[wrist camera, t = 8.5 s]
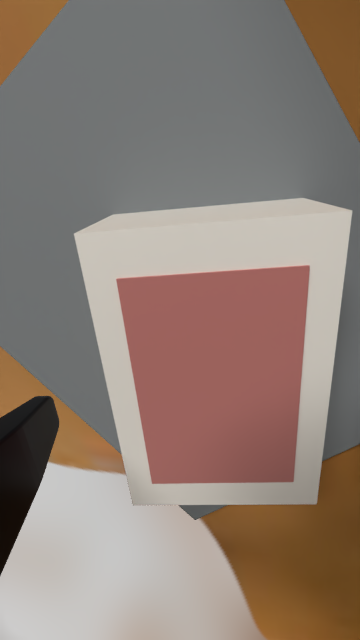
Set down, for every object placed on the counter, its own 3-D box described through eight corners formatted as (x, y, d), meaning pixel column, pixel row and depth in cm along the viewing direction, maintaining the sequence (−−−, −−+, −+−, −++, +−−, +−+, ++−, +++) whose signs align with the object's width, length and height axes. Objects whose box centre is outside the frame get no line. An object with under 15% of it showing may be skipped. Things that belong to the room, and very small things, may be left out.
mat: (-107, 234, 12) (-121, 238, 11) (198, -139, 8) (198, -163, 7) (195, 508, 17) (194, 520, 17) (475, 375, 13) (487, 384, 12)
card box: (148, 428, 14) (132, 507, 11) (113, 214, 11) (72, 234, 7) (289, 424, 14) (317, 506, 10) (302, 197, 10) (354, 210, 7)
